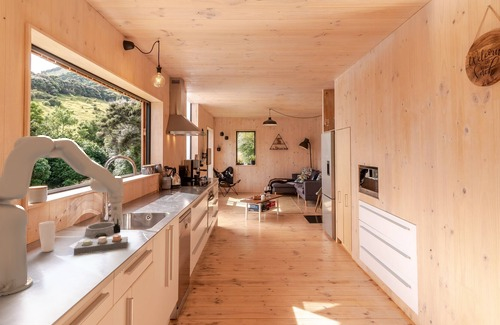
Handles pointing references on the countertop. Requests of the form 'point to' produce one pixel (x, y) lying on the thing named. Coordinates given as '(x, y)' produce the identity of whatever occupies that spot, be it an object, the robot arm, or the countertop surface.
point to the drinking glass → (47, 235)
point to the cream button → (102, 240)
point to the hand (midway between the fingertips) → (117, 232)
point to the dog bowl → (99, 229)
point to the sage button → (87, 242)
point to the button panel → (100, 246)
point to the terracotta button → (116, 238)
